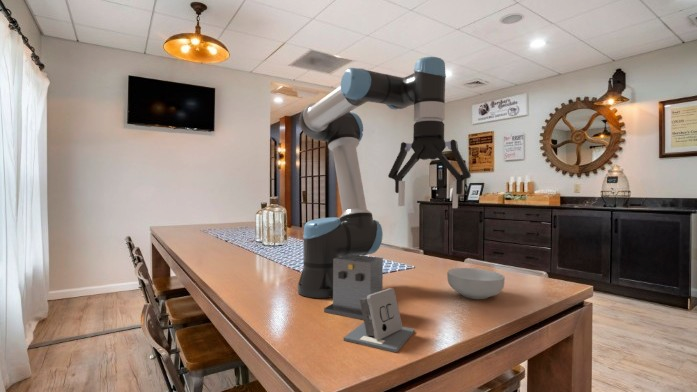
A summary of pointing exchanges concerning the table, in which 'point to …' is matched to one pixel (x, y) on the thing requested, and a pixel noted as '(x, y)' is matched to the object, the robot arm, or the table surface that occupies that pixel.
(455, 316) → the table surface
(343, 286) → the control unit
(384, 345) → the pad
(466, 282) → the cereal bowl
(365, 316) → the electrical switch
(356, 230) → the robot arm
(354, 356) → the table surface
